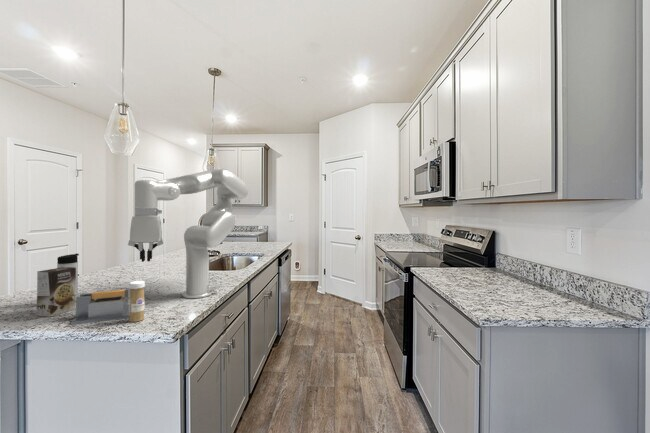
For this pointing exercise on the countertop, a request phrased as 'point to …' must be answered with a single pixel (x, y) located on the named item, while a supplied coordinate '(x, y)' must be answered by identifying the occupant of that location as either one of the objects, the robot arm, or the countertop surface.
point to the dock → (100, 309)
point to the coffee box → (56, 291)
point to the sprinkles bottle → (136, 301)
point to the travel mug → (69, 265)
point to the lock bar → (111, 293)
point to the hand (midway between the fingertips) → (146, 260)
